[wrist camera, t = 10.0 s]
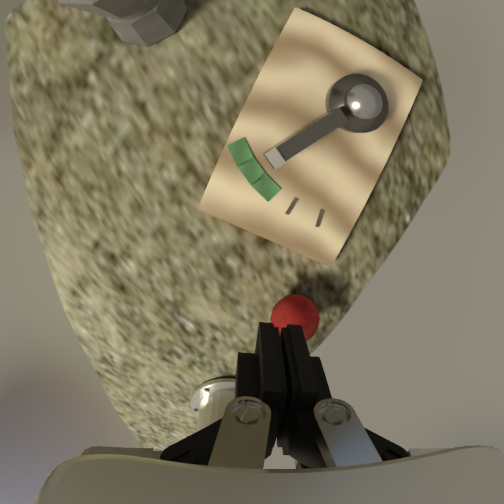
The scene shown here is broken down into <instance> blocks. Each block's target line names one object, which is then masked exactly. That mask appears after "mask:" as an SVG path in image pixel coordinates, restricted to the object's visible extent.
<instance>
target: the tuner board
mask: <svg viewBox="0 0 504 504" xmlns="http://www.w3.org/2000/svg"><path fill="white" fill-rule="evenodd" d="M349 74H363V75H367V76H369V77H371V78H373V79H374V80H376V81H377V82H378V83H379V84H380V85H381V87H382V88H383V89H384V91H385V93H386V96H387V99H388V105H389V109H388V114H387V117H386V120H385V121H384V123H383V124H382V125H381V126H380V127H379V128H378V129H376V130H374V131H372V132H368V133H351V132H347V131H344V130H342V129H341V128H339V127H338V128H337V129H335V130H334V131H332V132H330V133H329V134H327V135H326V136H324V137H322V138H321V139H319V140H318V141H316V142H315V143H313V144H312V145H310V146H308V147H307V148H305V149H304V150H302V151H301V152H299V153H298V154H296V155H295V156H293V157H292V158H290V159H289V160H287V161H285V162H286V163H285V164H284V165H282V166H281V167H279V168H278V169H276V170H275V169H273V168H272V166H271V165H270V163H269V162H268V161H267V159H266V158H265V156H264V155H263V153H264V152H266V151H267V150H269V149H270V148H272V147H273V146H275V145H276V144H278V143H280V142H281V141H283V140H284V139H286V138H287V137H289V136H290V135H292V134H293V133H295V132H296V131H298V130H300V129H301V128H303V127H304V126H306V125H307V124H309V123H311V122H312V121H314V120H315V119H317V118H319V117H320V116H322V115H323V114H325V113H327V110H326V105H325V100H326V94H327V92H328V90H329V88H330V87H331V85H332V84H333V83H335V82H336V81H338V80H339V79H341V78H342V77H344V76H346V75H349ZM422 81H423V80H422V79H421V78H419V77H418V76H416V75H415V74H414V73H412V72H411V71H409V70H408V69H407V68H405V67H404V66H402V65H401V64H399V63H398V62H396V61H395V60H393V59H392V58H390V57H389V56H387V55H385V54H384V53H382V52H381V51H379V50H377V49H376V48H374V47H373V46H371V45H369V44H367V43H366V42H364V41H362V40H361V39H359V38H357V37H355V36H353V35H352V34H350V33H348V32H346V31H344V30H342V29H340V28H339V27H337V26H335V25H333V24H331V23H329V22H327V21H325V20H323V19H321V18H318V17H316V16H314V15H312V14H310V13H308V12H305V11H303V10H301V9H299V8H296V7H295V9H294V11H293V12H292V14H291V16H290V18H289V19H288V21H287V23H286V25H285V27H284V29H283V30H282V32H281V34H280V36H279V38H278V40H277V41H276V43H275V45H274V47H273V49H272V51H271V53H270V55H269V57H268V58H267V60H266V62H265V64H264V66H263V68H262V70H261V72H260V74H259V76H258V78H257V80H256V82H255V84H254V86H253V88H252V90H251V92H250V94H249V96H248V98H247V100H246V102H245V104H244V106H243V108H242V111H241V113H240V115H239V117H238V119H237V121H236V123H235V125H234V127H233V130H232V132H231V134H230V136H229V138H228V140H227V143H226V145H225V147H224V149H223V151H222V154H221V156H220V158H219V160H218V162H217V165H216V167H215V169H214V172H213V174H212V176H211V178H210V181H209V183H208V185H207V188H206V190H205V192H204V195H203V197H202V200H201V202H200V204H199V207H198V209H199V210H201V211H203V212H206V213H208V214H210V215H213V216H215V217H217V218H220V219H222V220H224V221H227V222H229V223H231V224H234V225H236V226H238V227H241V228H243V229H245V230H247V231H250V232H252V233H254V234H257V235H259V236H261V237H263V238H266V239H268V240H270V241H273V242H275V243H277V244H279V245H282V246H284V247H286V248H288V249H291V250H293V251H295V252H297V253H300V254H302V255H304V256H306V257H309V258H311V259H313V260H315V261H318V262H320V263H322V264H324V265H327V266H329V267H331V266H332V264H333V263H334V261H335V259H336V257H337V256H338V254H339V252H340V250H341V248H342V247H343V245H344V243H345V241H346V239H347V237H348V236H349V234H350V232H351V230H352V228H353V226H354V224H355V223H356V221H357V219H358V217H359V215H360V213H361V211H362V209H363V207H364V206H365V204H366V202H367V200H368V198H369V196H370V194H371V192H372V190H373V188H374V186H375V184H376V182H377V180H378V178H379V176H380V174H381V172H382V170H383V168H384V166H385V164H386V162H387V160H388V157H389V155H390V153H391V151H392V149H393V147H394V145H395V143H396V141H397V138H398V136H399V134H400V132H401V130H402V127H403V125H404V123H405V121H406V119H407V116H408V114H409V112H410V109H411V107H412V105H413V103H414V100H415V98H416V96H417V93H418V91H419V88H420V86H421V84H422Z"/></svg>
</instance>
